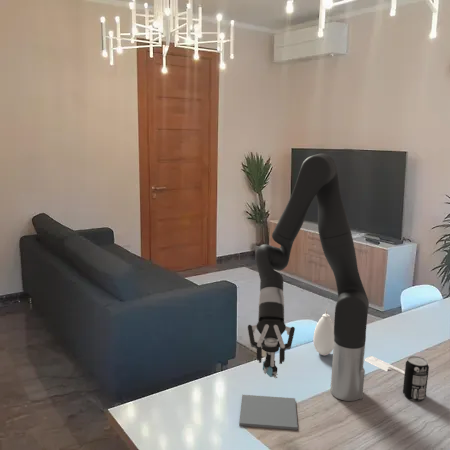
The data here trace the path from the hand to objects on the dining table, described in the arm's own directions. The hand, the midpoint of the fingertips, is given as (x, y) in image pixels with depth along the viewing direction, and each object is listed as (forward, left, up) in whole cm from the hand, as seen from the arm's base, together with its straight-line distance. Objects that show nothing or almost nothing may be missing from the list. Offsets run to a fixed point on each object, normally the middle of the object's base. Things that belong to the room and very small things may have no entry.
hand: (270, 362), depth 130 cm
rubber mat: (0, -2, -17) cm, 17 cm away
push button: (0, -2, -5) cm, 5 cm away
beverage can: (-45, -16, -17) cm, 51 cm away
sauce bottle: (-20, -40, -17) cm, 48 cm away
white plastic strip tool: (-40, -33, -17) cm, 55 cm away
